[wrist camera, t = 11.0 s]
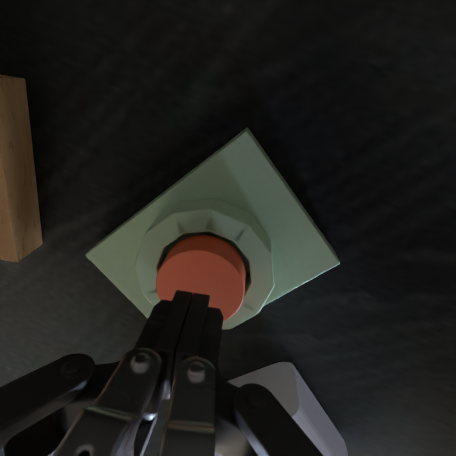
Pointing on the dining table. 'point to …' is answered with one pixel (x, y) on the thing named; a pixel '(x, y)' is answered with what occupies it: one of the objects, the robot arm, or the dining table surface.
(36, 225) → the panel
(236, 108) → the dining table surface
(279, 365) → the charger
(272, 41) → the dining table surface
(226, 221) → the button box
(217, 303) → the button
